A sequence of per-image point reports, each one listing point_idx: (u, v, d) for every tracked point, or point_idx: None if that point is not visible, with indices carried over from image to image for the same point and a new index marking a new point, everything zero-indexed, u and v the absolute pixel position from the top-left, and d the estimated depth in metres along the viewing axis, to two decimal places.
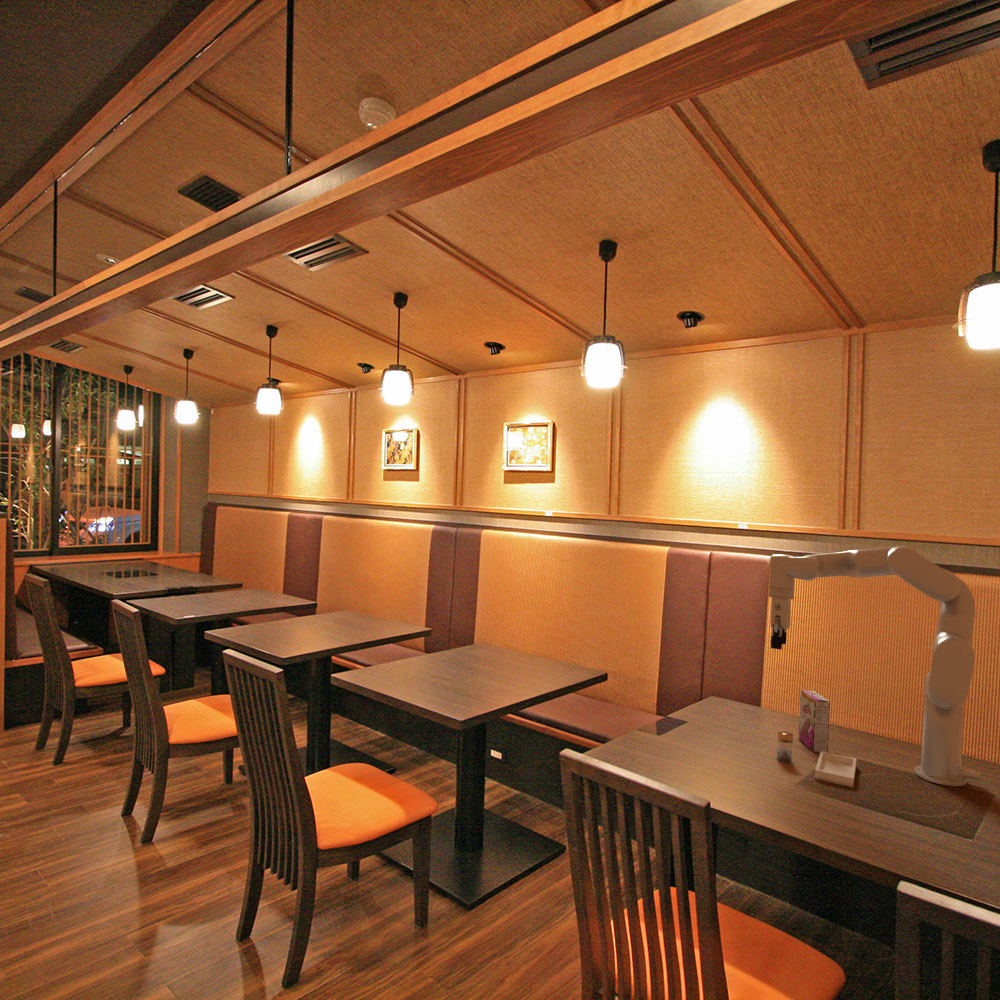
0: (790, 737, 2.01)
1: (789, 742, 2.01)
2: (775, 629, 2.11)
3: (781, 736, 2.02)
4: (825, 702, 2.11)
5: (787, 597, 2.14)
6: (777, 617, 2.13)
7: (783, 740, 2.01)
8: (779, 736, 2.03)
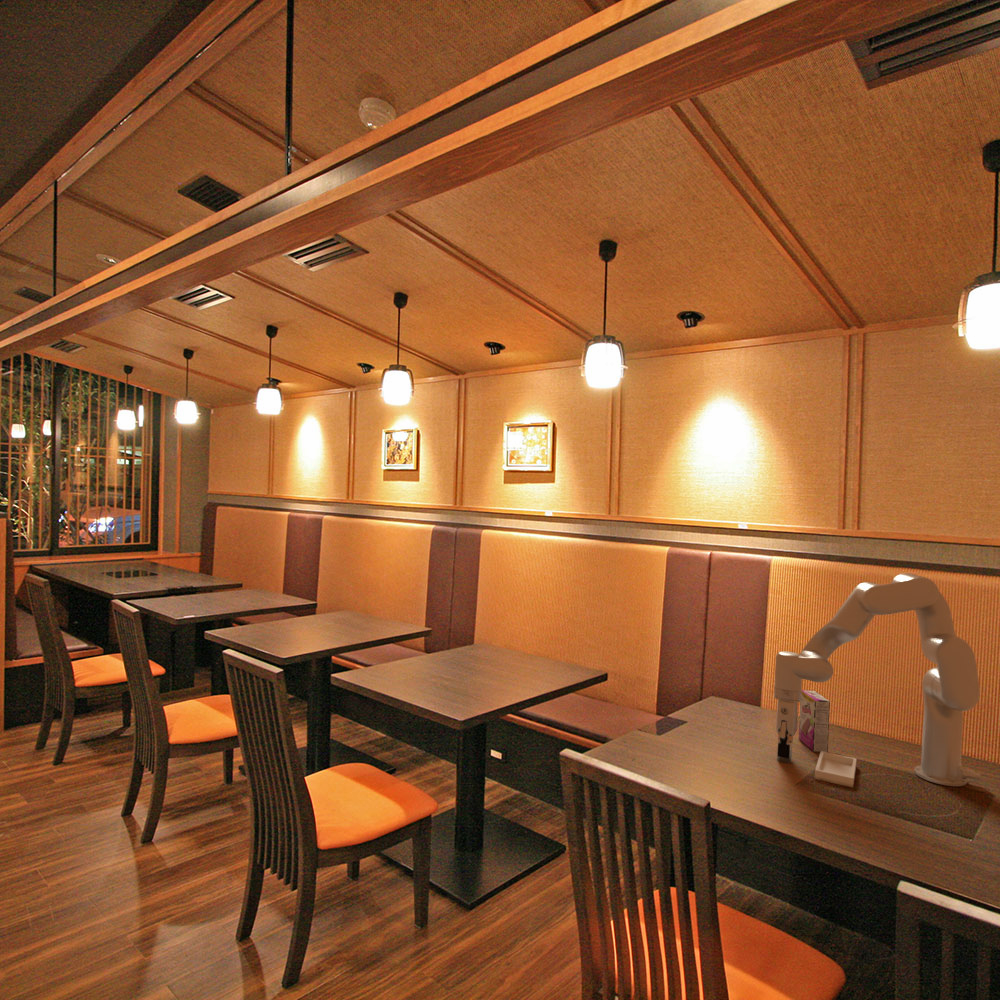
0: (790, 737, 2.01)
1: (789, 742, 2.01)
2: (782, 740, 1.98)
3: None
4: (825, 702, 2.11)
5: (794, 700, 1.99)
6: (783, 725, 1.99)
7: None
8: None
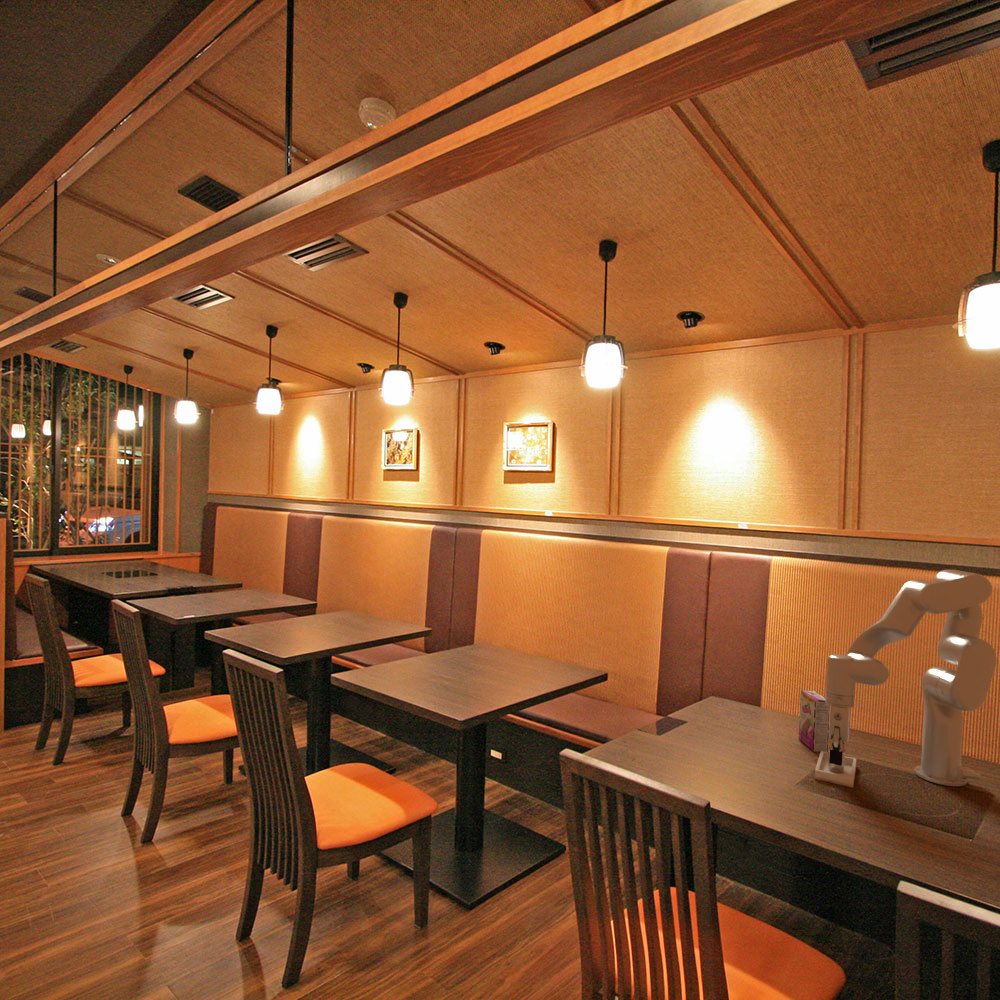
0: (842, 747, 1.93)
1: None
2: (835, 744, 1.89)
3: None
4: (825, 702, 2.11)
5: (847, 705, 1.91)
6: (837, 729, 1.90)
7: None
8: None
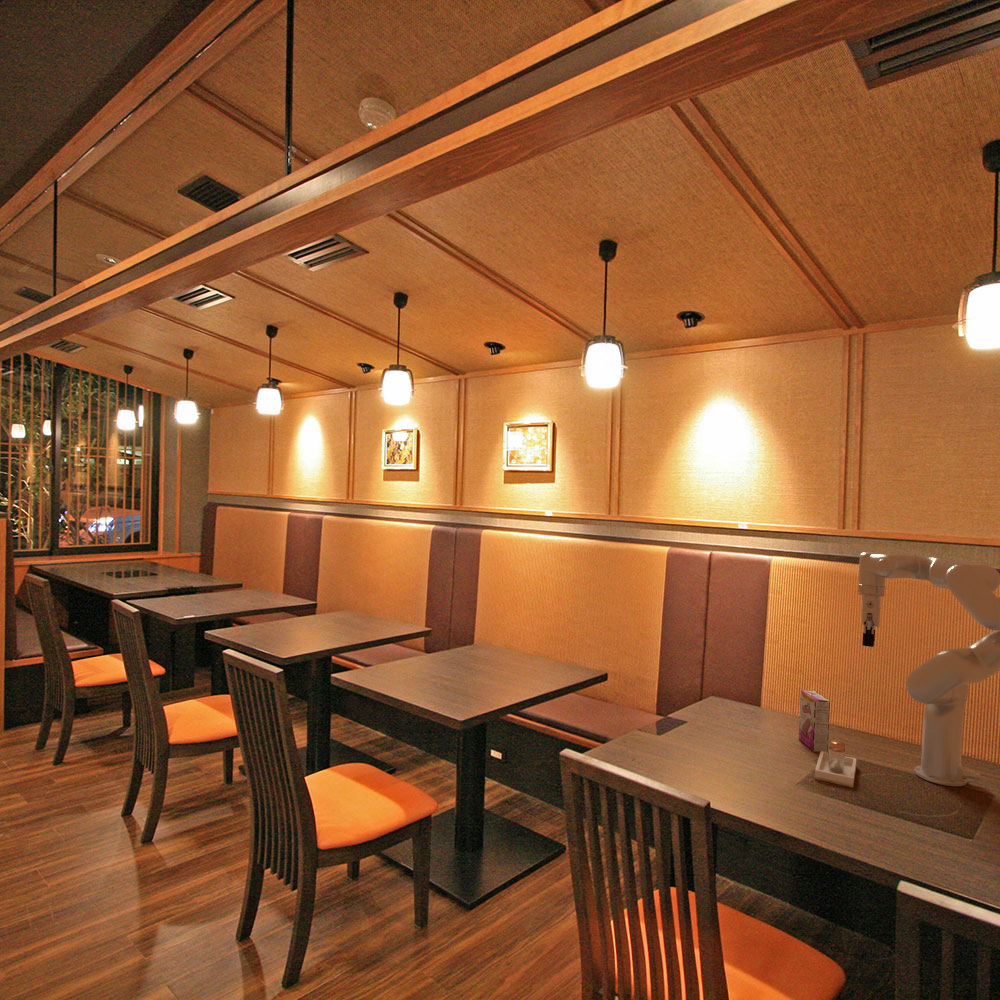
0: (842, 746, 1.93)
1: (841, 752, 1.93)
2: (868, 626, 2.11)
3: (833, 745, 1.94)
4: (825, 702, 2.11)
5: (879, 595, 2.14)
6: (869, 615, 2.13)
7: (835, 749, 1.94)
8: (831, 745, 1.95)
